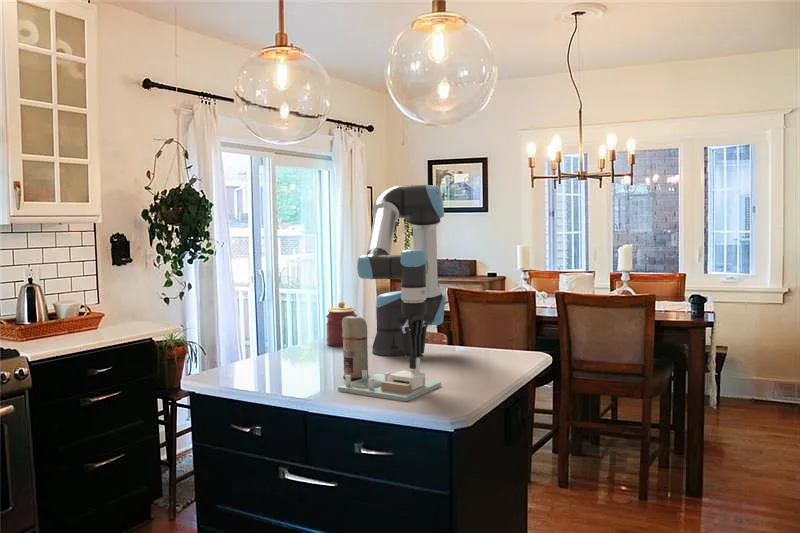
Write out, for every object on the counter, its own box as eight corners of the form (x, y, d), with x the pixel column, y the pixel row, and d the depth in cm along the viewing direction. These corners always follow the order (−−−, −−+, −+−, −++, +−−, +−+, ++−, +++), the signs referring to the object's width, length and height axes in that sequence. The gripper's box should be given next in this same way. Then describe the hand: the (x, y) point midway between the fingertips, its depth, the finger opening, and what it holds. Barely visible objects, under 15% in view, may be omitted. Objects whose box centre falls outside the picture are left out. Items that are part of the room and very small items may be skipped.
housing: (389, 386, 194) (389, 374, 194) (402, 381, 200) (402, 370, 200) (412, 390, 190) (412, 378, 190) (425, 384, 196) (424, 373, 196)
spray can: (339, 375, 216) (338, 315, 215) (362, 373, 219) (361, 313, 218) (348, 381, 208) (346, 318, 207) (372, 378, 212) (371, 316, 210)
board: (338, 390, 196) (337, 377, 196) (376, 377, 213) (375, 364, 213) (406, 401, 183) (406, 386, 183) (441, 386, 200) (440, 372, 200)
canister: (323, 342, 277) (322, 300, 276) (352, 340, 281) (352, 299, 280) (330, 347, 265) (329, 304, 264) (361, 345, 269) (360, 302, 268)
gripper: (413, 304, 190) (414, 384, 191) (435, 299, 201) (436, 375, 202) (391, 302, 194) (392, 381, 195) (414, 298, 205) (415, 373, 206)
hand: (415, 378), depth 199 cm, fingers closed
